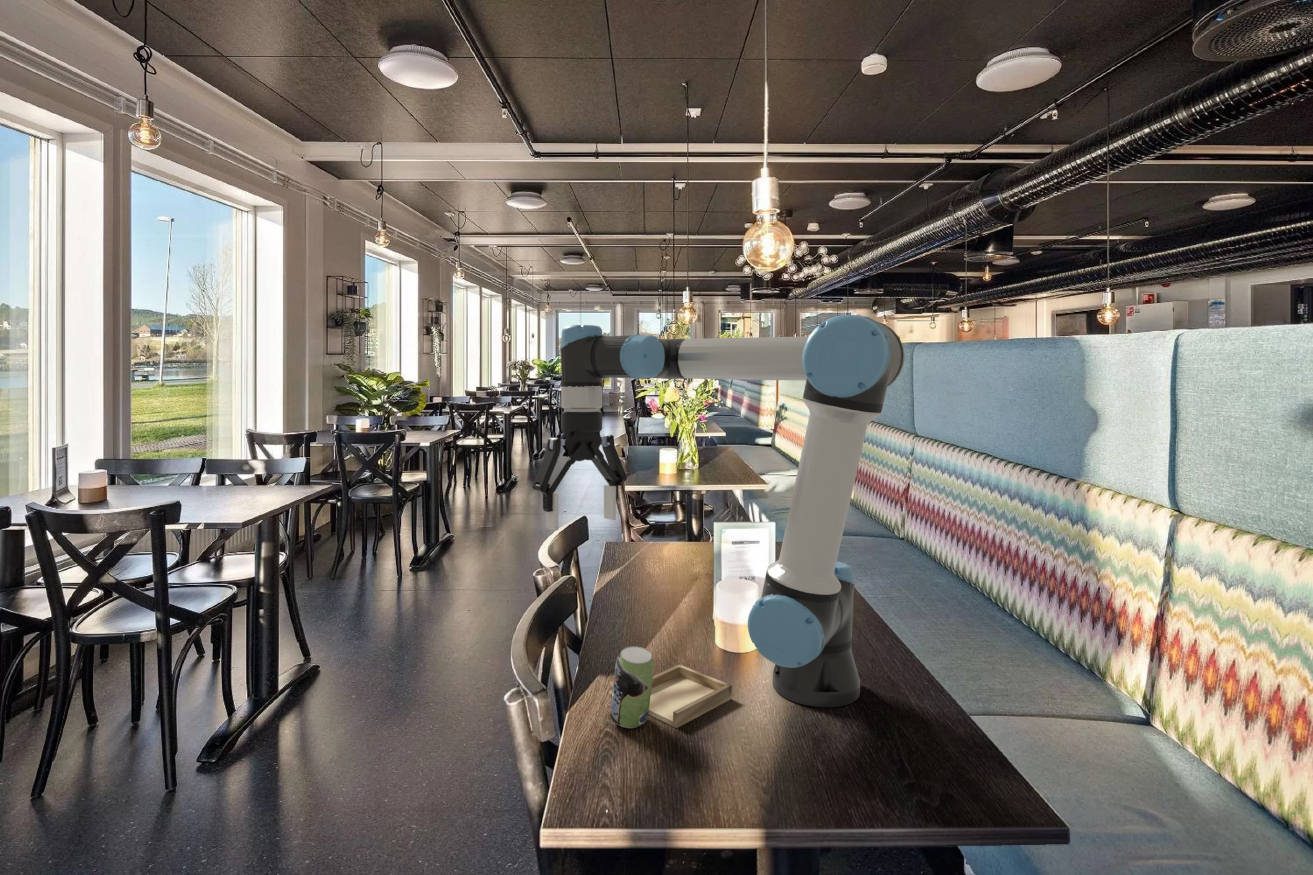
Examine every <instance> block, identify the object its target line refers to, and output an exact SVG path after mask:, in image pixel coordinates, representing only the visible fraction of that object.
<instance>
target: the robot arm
mask: <svg viewBox="0 0 1313 875" xmlns="http://www.w3.org/2000/svg"><path fill="white" fill-rule="evenodd" d="M560 339H561V341H560V342H561V343H560V348H559V351H560V365H561V383H560V384H561V385H560V386H561V388H560V389H561V390H560V392H561V400H560V402H561V408H562V409H564V411H562V412H561V414H560V416H561V417H560V418H561V419H560V420H561V421H560V423H561V424H560V425H561V431H562V433H563V434H562V438H559V437H558V438H557V437H549V438H548V439H547V444H546V445H547V446H546V450H545V454H544V457H543V459H542V461H541V464H540V467H539V469H538V471H537V474H536V477H535V479H534V482H533V483H532V484H533V485H532V490H533V491H537V492H540V493H541V494H542V511H544V512H545V529H548V530H552V531H559V493H556V492H555V491H556V490H557V489H558V487H559V485H560V484H561V482H562V481H563V479H564V477H565V476H566V474H567V473H568V471H569V470H570V468H571V467H572V465H574V464H575V463H576V462H583V461H591V462H592V463H593V465H594V466H595V467H596V469H597V470H598V472H599V474H600V475H601V476H602V477H603V478H604V480H605V481H606V483H607V484H604V485H603V519H606V520H612V521H614V520H615V521H616V519H617V502H618V500H619V487H620V486H622V485H623V482H625V481H626V480H627V479H628V477H627V474H626V471H625V469H624V467H623V464H622V461H621V459H620V456H619V453H618V450H617V448H616V446H615V436H614V435H613V434H606V433H604V434H601V431H602V430H603V413H602V411H600V409H602V408H603V379H609V378H611V379H612V378H613V379H614V378H615V379H635V380H640V379H641V380H645V379H662V380H677V379H678V380H679V379H681V380H684V379H685V380H686V379H687V380H688V379H690V380H691V379H692V380H693V379H694V380H695V379H696V380H746V381H747V380H749V381H750V380H752V381H755V380H756V381H801V382H802V381H805V384H804V388H803V389H804V390H803V396H802V402H803V403H804V405H806V406H805V407H807V409H808V411H809V415H808V420H807V425H806V430H805V435H804V439H803V445H802V450H801V454H800V459H799V464H798V469H797V473H796V477H795V483H794V486H793V492H792V495H791V501H790V507H789V510H788V516H787V521H786V525H785V530H784V534H783V539H782V543H781V548H780V554H779V558H778V559H777V560H776V561H774V562H772V563H771V564H769V565H767V569H766V572H765V576H764V577H765V578H764V580H763V585H762V586H763V587H762V590H761V591H762V592H761V596H760V598H759V599H757V600H756V601H755V602H754V604H753V605H752V607H751V609H750V611H749V613H748V617H747V631H748V636H749V638H750V640H751V643H753V644H754V646H755V648H756V650H757V652H758V653H759V654H760V655H762V657H763V658H765V659H766V660H768V661H769V662H771V663H772V664H774V667H773V670H772V687H773V689H774V691H775V692H776V693H777V694H779V695H780V696H781V697H783V698H785V699H786V700H789V701H791V702H794V703H796V704H800V705H804V706H809V707H815V708H837V707H844V706H848V705H850V704H853V703H855V701H857V700H858V699H859V697H860V693H861V678H860V676H859V674H858V668H857V665H856V662H855V659H854V654H853V650H852V637H853V636H852V635H853V617H854V616H853V615H854V594H855V593H854V592H855V591H854V590H855V586H856V582H855V572H854V568H852V567H851V566H850V565H849V564H846V563H844V562H840V561H838V556H839V554H840V553H839V552H840V547H841V543H842V539H843V534H844V530H845V526H846V521H847V517H848V512H849V508H850V504H851V499H852V494H853V491H854V490H853V489H854V487H855V481H856V477H857V473H858V470H859V469H858V468H859V463H860V460H861V455H862V451H863V448H864V447H863V445H864V441H865V437H866V434H867V429H868V425H869V424H870V422H872V421H873V420H875V419H877V418H878V417H880V416H881V415H882V411H883V407H884V402H885V397H886V394H887V388H888V387H889V386H891V385H892V384H893V383H894V382H895V381H896V380H897V378H899V376H900V374H901V372H902V369H903V367H904V363H905V350H904V345H903V343H902V340H901V339H900V336H899V335H898V334H897V333H896V331H895V330H893V329H892V328H891V327H889V326H887V325H886V324H885V323H883V322H879V321H876V320H874V319H873V318H872V317H869V316H865V315H861V314H842V315H837V316H833V317H830V318H828V319H826V320H825V321H823V322H822V323H820V324H819V325H817V326H816V328H814V329H813V331H812V332H810V335H809V336H769V337H767V336H764V337H760V336H759V337H726V338H725V337H720V338H717V337H716V338H715V337H714V338H710V337H709V338H658V337H657V336H655V335H652V334H639V333H635V334H629V335H628V334H627V335H613V336H612V335H608V336H607V335H604V334H603V329H602V328H601V326H600V325H599V326H598V325H593V324H570V325H566V326H564V327H563V329H562V331H561V338H560ZM600 447H601V448H602V450H603V451H601V450H600ZM561 450H562V452H561ZM560 453H561V454H560Z"/></svg>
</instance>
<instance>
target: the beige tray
mask: <svg viewBox="0 0 1313 875" xmlns="http://www.w3.org/2000/svg"><path fill="white" fill-rule="evenodd" d="M732 687H733V685H732V684H729V683H727V682H725V681H722V680H719V679H717V678H714V677H712V676H710V675H707V674H704V673H702V672H700V671H697V670H694V669H692V668H689V667H687V666H685V665H682V664H678V665H675V666H672V667H671V668H668V669H666V670H663V671H661V672H659V673H657V674H653V680H652V688H651V696H650V704H649V712H648V716H651V717H653V718H654V719H657V720H660V721H661V722H663V723H665V724H668V725H669V726H671V727H673V728H675V729H679V728H680V727H682V726H684V725H686V724H687V723H690V722H691V721H693V720H694V719H697V718H699V717H700V716H703V715H704V714H706V713H708V712H710V711H712V710H713V709H715V708H718V707H719V706H721V705H723V704H725V703H727V702H729V701H730V700H732V695H733V694H732V691H733V690H732V689H733V688H732Z"/></svg>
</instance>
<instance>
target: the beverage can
mask: <svg viewBox="0 0 1313 875" xmlns="http://www.w3.org/2000/svg"><path fill="white" fill-rule="evenodd" d="M654 673H655V661H654V659H653V655H652V653H651V652H650V650H648V649H647V648H644V647H641V646H634V645H633V646H627V647H624V648H623V649H622V650H621V651H620V653H619V655H618V656H617V657H616V660H615V668H614V674H613V675H614V677H613V686H612V695H611V702H610V711H609V716H610V718H611V720H612V721H613V722H614V723H615V724H617V725H618V726H620V727H621V728H625V729H635V728H636V729H637V728H638V727H641V726H643V725H645V723H646V722H647V721H648V718H649V714H648V712H649V704H650V696H651V688H652V680H653V676H654Z"/></svg>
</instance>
